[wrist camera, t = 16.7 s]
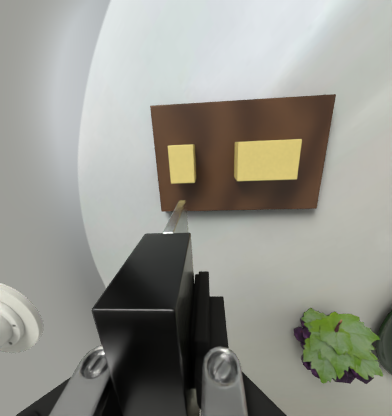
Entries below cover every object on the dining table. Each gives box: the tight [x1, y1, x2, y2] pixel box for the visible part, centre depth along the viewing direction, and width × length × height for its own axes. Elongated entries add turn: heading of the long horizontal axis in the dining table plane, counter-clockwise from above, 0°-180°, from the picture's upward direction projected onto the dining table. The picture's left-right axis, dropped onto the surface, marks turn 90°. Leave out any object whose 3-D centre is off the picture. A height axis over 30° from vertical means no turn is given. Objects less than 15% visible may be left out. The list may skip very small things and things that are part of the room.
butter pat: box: [168, 144, 196, 184], centre depth 24 cm, size 3×4×3 cm, turn 3°
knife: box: [92, 200, 200, 416], centre depth 10 cm, size 2×9×9 cm, turn 3°
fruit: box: [294, 308, 383, 384], centre depth 30 cm, size 10×11×15 cm
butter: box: [234, 139, 302, 181], centre depth 23 cm, size 7×4×3 cm, turn 92°
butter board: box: [150, 94, 336, 211], centre depth 25 cm, size 22×14×2 cm, turn 92°
